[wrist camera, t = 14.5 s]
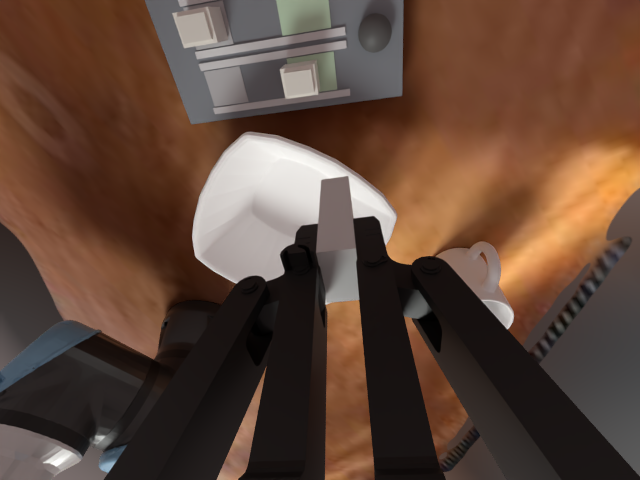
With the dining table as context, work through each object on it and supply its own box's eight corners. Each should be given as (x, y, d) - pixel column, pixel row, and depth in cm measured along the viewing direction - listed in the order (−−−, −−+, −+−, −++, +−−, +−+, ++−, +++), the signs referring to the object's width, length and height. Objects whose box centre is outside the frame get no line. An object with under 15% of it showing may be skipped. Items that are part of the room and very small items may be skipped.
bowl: (254, 84, 33) (231, 103, 26) (409, 174, 38) (423, 210, 32) (201, 222, 45) (175, 261, 38) (326, 278, 50) (324, 321, 43)
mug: (449, 219, 42) (475, 270, 34) (507, 229, 42) (548, 283, 34) (417, 281, 49) (432, 337, 41) (467, 290, 49) (492, 347, 41)
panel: (201, 116, 36) (185, 128, 32) (132, -80, 26) (99, -94, 23) (397, 89, 33) (404, 99, 29) (399, -141, 23) (409, -169, 20)
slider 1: (197, 44, 28) (182, 48, 26) (187, 12, 27) (169, 13, 24) (228, 39, 28) (216, 43, 25) (219, 6, 27) (205, 6, 24)
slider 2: (289, 92, 30) (284, 100, 28) (284, 64, 29) (278, 70, 26) (320, 87, 30) (318, 95, 27) (316, 59, 29) (314, 64, 26)
